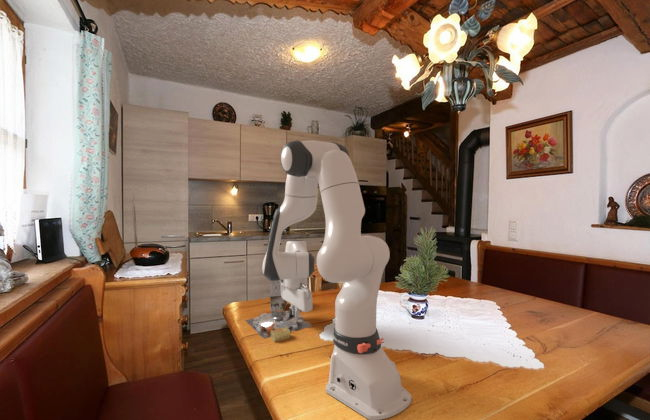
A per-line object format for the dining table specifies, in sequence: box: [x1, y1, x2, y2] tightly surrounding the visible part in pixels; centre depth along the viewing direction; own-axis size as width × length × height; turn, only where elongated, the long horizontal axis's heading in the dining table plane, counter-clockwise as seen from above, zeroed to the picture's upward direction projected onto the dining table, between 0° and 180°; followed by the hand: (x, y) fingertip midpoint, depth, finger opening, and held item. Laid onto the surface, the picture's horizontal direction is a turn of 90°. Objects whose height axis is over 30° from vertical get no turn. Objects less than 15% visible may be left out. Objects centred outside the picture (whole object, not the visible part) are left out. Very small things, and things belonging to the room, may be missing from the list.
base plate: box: [245, 310, 313, 339], centre depth 119 cm, size 20×20×1 cm
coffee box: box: [269, 280, 288, 312], centre depth 137 cm, size 9×6×16 cm
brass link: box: [270, 327, 291, 343], centre depth 105 cm, size 3×6×4 cm, turn 123°
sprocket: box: [253, 305, 304, 333], centre depth 119 cm, size 19×19×6 cm
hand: (296, 316), depth 117 cm, fingers closed
